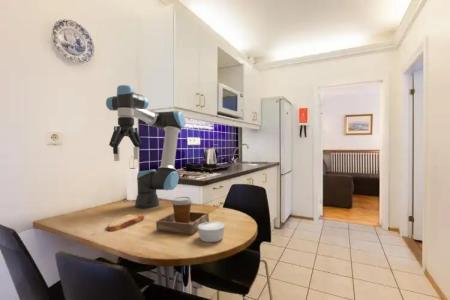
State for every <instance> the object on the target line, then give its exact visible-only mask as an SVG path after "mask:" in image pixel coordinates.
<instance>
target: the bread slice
mask: <svg viewBox="0 0 450 300" xmlns="http://www.w3.org/2000/svg"><path fill="white" fill-rule="evenodd" d="M144 219H145V216H144V214H139V215H135V214H129V213H128V214H126V215H122V216H120V217H118V218H115V219H114V220H113V221H111V222H110V223H109V224H107V228H106V231H108V232H117V231H121V230H124V229H126V228H129V227H132V226H134V225H136V224H138V223H140V222H141V221H143V220H144Z"/></svg>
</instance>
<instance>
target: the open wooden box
mask: <svg viewBox="0 0 450 300" xmlns="http://www.w3.org/2000/svg"><path fill="white" fill-rule="evenodd" d="M209 213H210V212H200V211H199V212H197V211H190V218H189V223H179V222H175V215H174V211H173V212H171V213H170V214H168V215H165V216H164V217H162V218H159V219H158V220H156V221H155V222H156V223H155V227H156V228H155V229H156V230H155V231H156V232H159V233H160V232H161V233H170V234H181V235H187V236H188V235H191V236H193V235H195V234H196V233H197V232H199V231H198V225H199V224H201V223H205V222H210V215H209Z"/></svg>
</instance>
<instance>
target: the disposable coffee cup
mask: <svg viewBox="0 0 450 300" xmlns="http://www.w3.org/2000/svg"><path fill="white" fill-rule="evenodd" d="M192 202H193V200H192V197H189V196H178V197H174V198H173V199H172V200H171V203H172V208H173V212H174V215H175V222H179V223H189V218H190V212H191V207H192Z"/></svg>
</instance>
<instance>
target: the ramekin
mask: <svg viewBox="0 0 450 300" xmlns="http://www.w3.org/2000/svg"><path fill="white" fill-rule="evenodd" d="M225 228H226V227H225V223H223V222H220V221H209V222H205V223H201V224H199V225H198V231H197V232H198V236H199V239H200V240H201V241H202V242H205V243H216V242H219V241H221V240H222V239H223V238H224V233H225Z"/></svg>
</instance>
